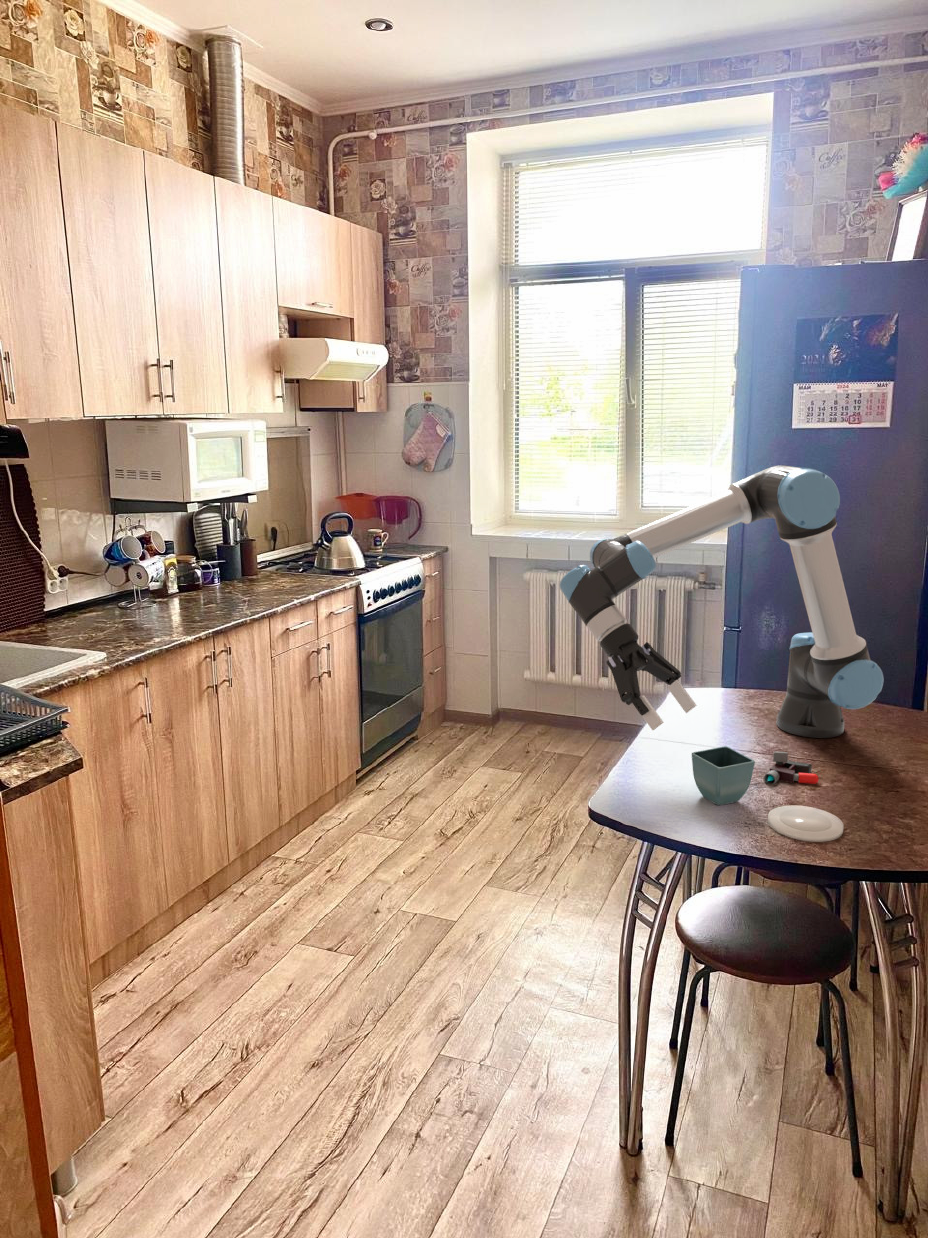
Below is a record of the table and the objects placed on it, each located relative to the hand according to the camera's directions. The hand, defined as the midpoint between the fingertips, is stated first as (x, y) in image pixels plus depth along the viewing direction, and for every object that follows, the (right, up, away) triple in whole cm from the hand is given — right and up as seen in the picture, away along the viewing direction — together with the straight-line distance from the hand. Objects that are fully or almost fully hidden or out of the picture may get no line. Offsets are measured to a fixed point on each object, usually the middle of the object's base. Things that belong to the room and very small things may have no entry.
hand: (675, 717), depth 185 cm
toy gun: (+26, -14, +6) cm, 30 cm away
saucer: (+20, -18, -15) cm, 31 cm away
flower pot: (+8, -16, -3) cm, 18 cm away
